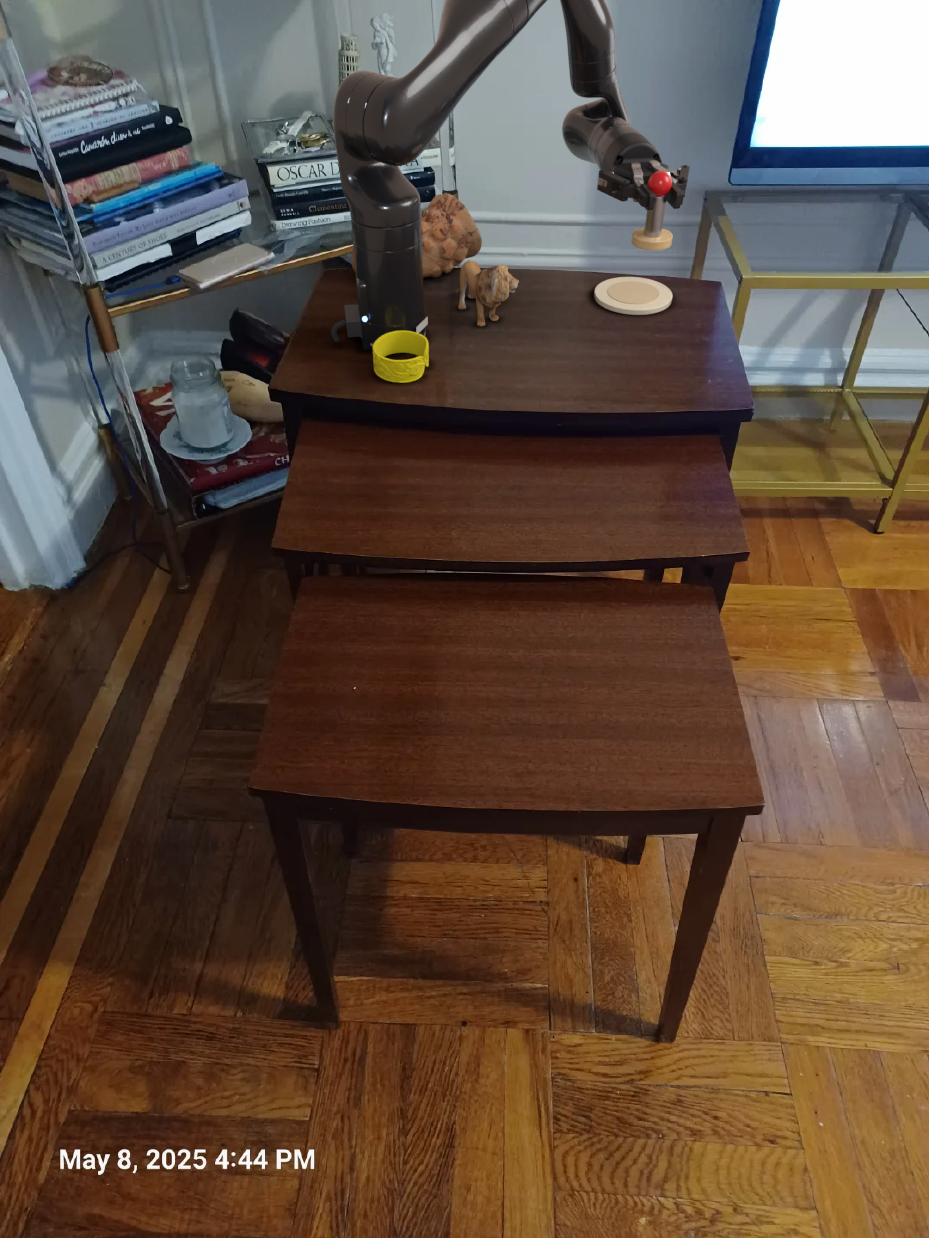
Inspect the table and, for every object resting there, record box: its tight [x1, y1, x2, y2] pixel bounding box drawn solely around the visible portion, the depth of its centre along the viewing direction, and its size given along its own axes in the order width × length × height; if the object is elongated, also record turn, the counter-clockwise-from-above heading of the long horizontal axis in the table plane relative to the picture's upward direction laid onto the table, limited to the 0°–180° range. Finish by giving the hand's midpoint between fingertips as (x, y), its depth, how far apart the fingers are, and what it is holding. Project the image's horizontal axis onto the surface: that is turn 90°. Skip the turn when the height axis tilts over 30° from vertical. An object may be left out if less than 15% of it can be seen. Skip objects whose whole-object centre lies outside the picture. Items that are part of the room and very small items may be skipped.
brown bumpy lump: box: [350, 192, 483, 279], centre depth 141 cm, size 19×11×15 cm
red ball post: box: [630, 171, 673, 252], centre depth 121 cm, size 6×6×9 cm
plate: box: [593, 276, 674, 316], centre depth 137 cm, size 12×12×1 cm
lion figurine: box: [452, 259, 520, 327], centre depth 130 cm, size 15×5×9 cm, turn 33°
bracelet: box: [372, 330, 430, 384], centre depth 120 cm, size 7×8×3 cm
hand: (665, 202), depth 118 cm, fingers closed on red ball post, 3 cm apart
